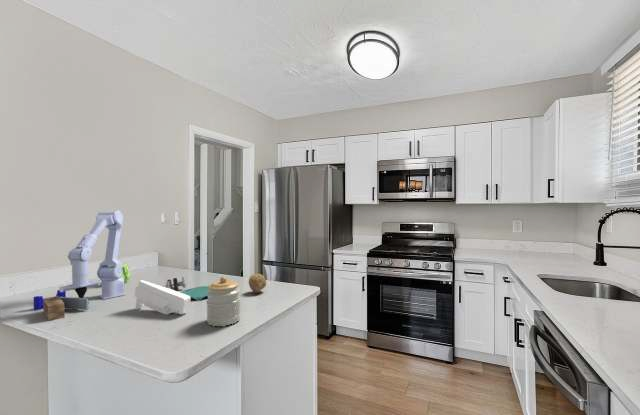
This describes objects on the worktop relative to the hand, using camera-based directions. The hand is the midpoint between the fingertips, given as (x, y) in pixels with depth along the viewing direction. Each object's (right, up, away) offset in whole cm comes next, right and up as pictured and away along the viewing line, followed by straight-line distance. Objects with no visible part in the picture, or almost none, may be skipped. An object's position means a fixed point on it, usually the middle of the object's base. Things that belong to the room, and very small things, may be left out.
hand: (81, 304), depth 137 cm
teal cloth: (+49, -2, +23) cm, 54 cm away
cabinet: (-6, -2, -7) cm, 10 cm away
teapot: (-15, -2, +44) cm, 47 cm away
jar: (+71, -1, -17) cm, 73 cm away
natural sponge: (+76, -1, +20) cm, 79 cm away
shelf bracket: (+40, -2, -6) cm, 40 cm away
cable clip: (-19, -3, +5) cm, 20 cm away
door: (-2, -1, -1) cm, 3 cm away
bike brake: (+25, -2, +28) cm, 37 cm away
